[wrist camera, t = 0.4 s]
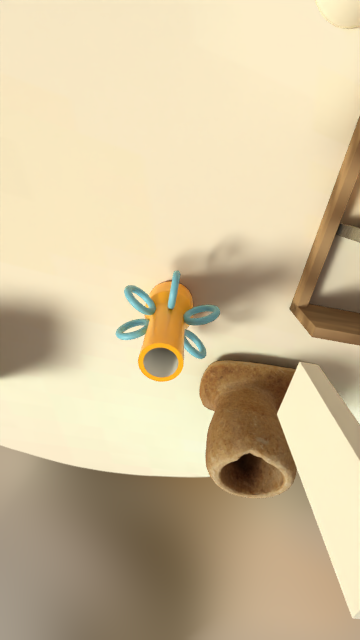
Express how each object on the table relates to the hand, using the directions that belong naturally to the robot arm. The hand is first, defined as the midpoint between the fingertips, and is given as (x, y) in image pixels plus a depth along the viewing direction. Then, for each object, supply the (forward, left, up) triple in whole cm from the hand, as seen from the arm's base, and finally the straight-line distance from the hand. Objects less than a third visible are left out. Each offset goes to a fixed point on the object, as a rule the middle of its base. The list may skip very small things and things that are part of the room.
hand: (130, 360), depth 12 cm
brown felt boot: (+20, +15, -28) cm, 37 cm away
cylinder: (+8, +1, -28) cm, 29 cm away
